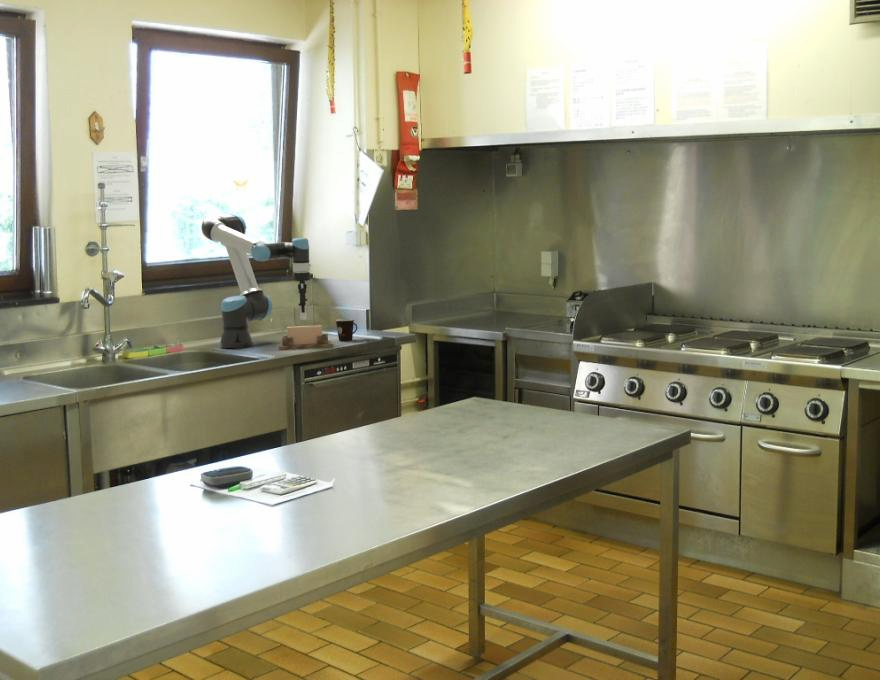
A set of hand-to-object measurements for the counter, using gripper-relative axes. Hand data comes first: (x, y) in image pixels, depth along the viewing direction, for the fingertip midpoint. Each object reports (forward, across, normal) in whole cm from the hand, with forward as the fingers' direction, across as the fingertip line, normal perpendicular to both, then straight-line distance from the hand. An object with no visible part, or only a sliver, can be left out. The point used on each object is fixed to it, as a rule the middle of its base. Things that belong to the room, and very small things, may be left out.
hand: (303, 317), depth 477 cm
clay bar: (+12, 0, 0) cm, 12 cm away
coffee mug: (+14, +11, -20) cm, 27 cm away
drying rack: (+14, 0, 0) cm, 14 cm away
